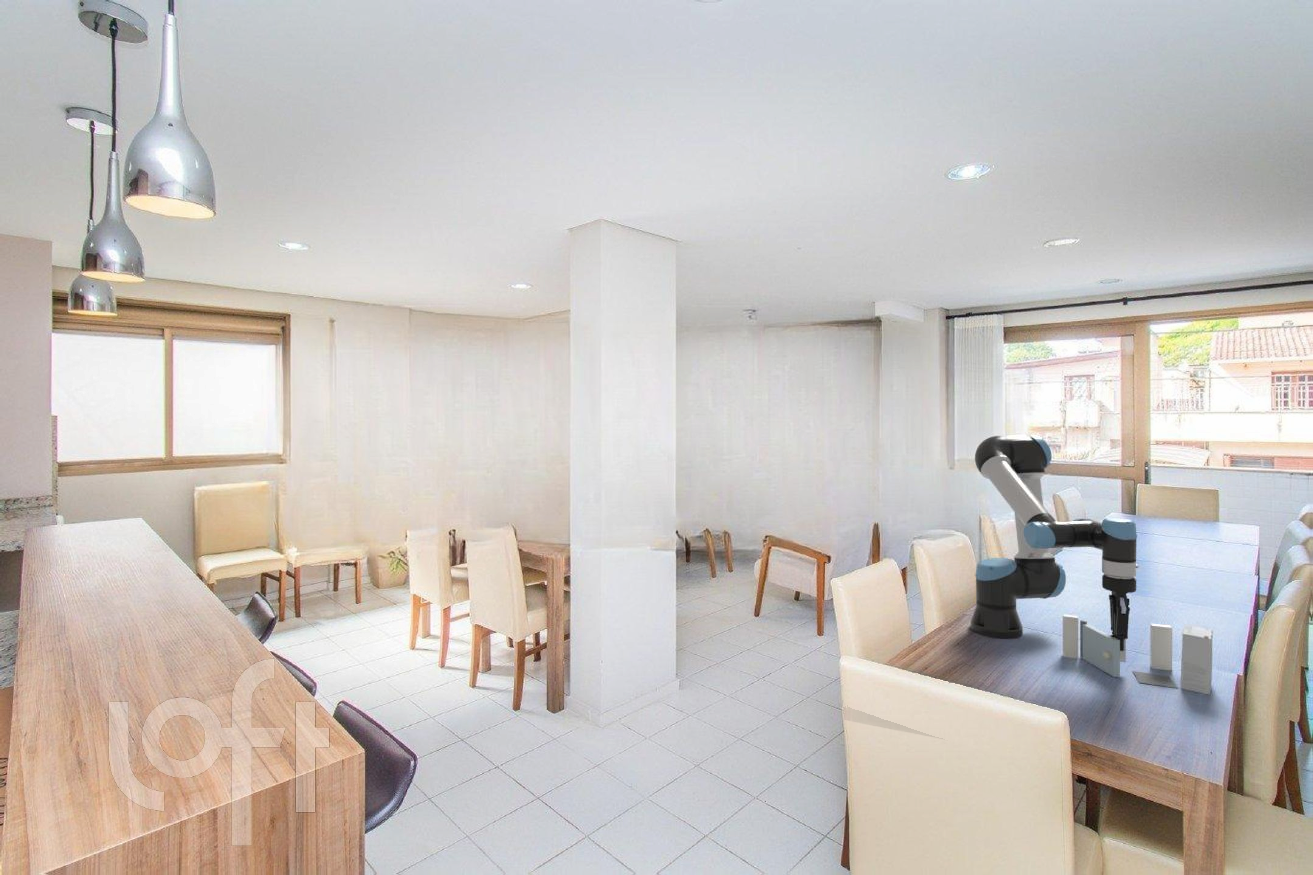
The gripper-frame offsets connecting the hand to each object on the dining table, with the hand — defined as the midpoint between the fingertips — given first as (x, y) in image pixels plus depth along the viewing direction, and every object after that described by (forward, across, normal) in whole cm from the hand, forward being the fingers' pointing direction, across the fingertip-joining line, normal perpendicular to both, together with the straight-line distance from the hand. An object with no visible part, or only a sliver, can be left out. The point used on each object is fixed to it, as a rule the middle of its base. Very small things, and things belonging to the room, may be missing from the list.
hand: (1119, 660), depth 171 cm
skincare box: (+4, -3, -16) cm, 17 cm away
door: (+3, +2, +5) cm, 6 cm away
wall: (+3, +8, -1) cm, 9 cm away
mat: (+4, -2, -7) cm, 8 cm away
